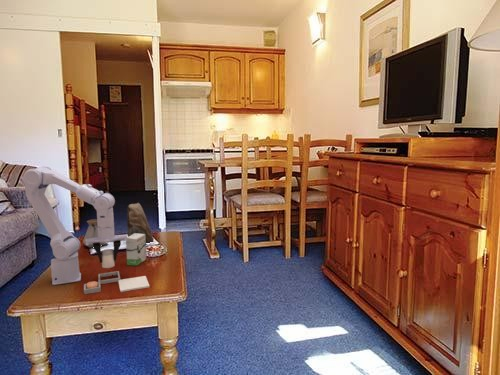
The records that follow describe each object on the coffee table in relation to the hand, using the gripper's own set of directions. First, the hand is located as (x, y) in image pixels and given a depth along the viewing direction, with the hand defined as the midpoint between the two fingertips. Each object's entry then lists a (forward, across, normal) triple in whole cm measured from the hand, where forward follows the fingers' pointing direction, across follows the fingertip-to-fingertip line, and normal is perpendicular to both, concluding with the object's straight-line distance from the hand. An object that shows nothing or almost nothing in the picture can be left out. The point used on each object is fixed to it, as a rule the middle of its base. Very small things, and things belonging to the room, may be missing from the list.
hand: (108, 260), depth 138 cm
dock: (+7, -2, -3) cm, 8 cm away
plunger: (+7, -6, -8) cm, 12 cm away
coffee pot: (+8, -4, +42) cm, 43 cm away
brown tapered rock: (+8, +17, +42) cm, 46 cm away
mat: (+7, +8, -9) cm, 14 cm away
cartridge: (+2, 0, 0) cm, 2 cm away
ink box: (+8, +12, +15) cm, 21 cm away
